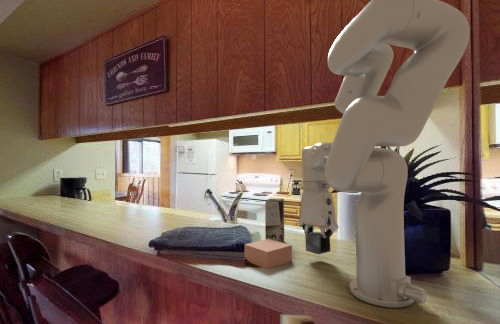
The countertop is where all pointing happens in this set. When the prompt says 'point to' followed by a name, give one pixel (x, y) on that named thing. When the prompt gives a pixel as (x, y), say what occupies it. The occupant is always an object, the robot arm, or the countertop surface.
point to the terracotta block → (268, 253)
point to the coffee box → (274, 219)
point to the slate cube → (314, 242)
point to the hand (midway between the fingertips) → (318, 248)
